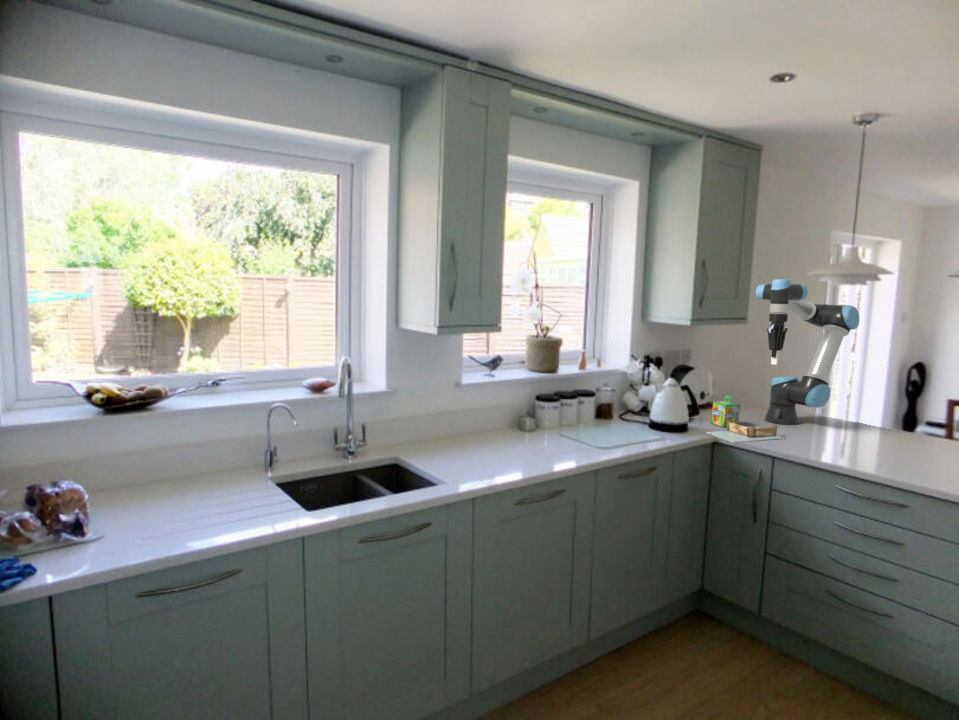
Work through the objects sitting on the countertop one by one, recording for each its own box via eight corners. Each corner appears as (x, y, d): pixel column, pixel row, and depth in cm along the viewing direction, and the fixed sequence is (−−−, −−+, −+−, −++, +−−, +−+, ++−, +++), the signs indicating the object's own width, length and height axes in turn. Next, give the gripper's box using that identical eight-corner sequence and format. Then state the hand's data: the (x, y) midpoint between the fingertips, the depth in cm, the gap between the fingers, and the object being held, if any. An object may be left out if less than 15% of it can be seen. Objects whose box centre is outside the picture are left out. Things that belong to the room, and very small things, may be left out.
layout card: (705, 432, 272) (705, 431, 272) (754, 429, 281) (754, 428, 280) (733, 442, 255) (733, 441, 255) (784, 438, 263) (784, 437, 263)
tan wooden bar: (749, 435, 266) (750, 426, 265) (746, 435, 265) (747, 426, 264) (728, 429, 277) (729, 420, 276) (725, 429, 276) (726, 420, 275)
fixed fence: (747, 436, 264) (747, 426, 264) (773, 434, 269) (774, 424, 268) (751, 437, 262) (751, 427, 262) (777, 435, 267) (778, 426, 266)
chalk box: (710, 423, 291) (712, 394, 289) (725, 422, 294) (727, 393, 292) (723, 428, 282) (725, 397, 281) (739, 427, 285) (741, 397, 284)
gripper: (778, 312, 274) (774, 362, 277) (762, 313, 267) (758, 364, 270) (794, 313, 268) (790, 364, 271) (778, 313, 261) (774, 366, 264)
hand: (774, 364), depth 270 cm, fingers closed
